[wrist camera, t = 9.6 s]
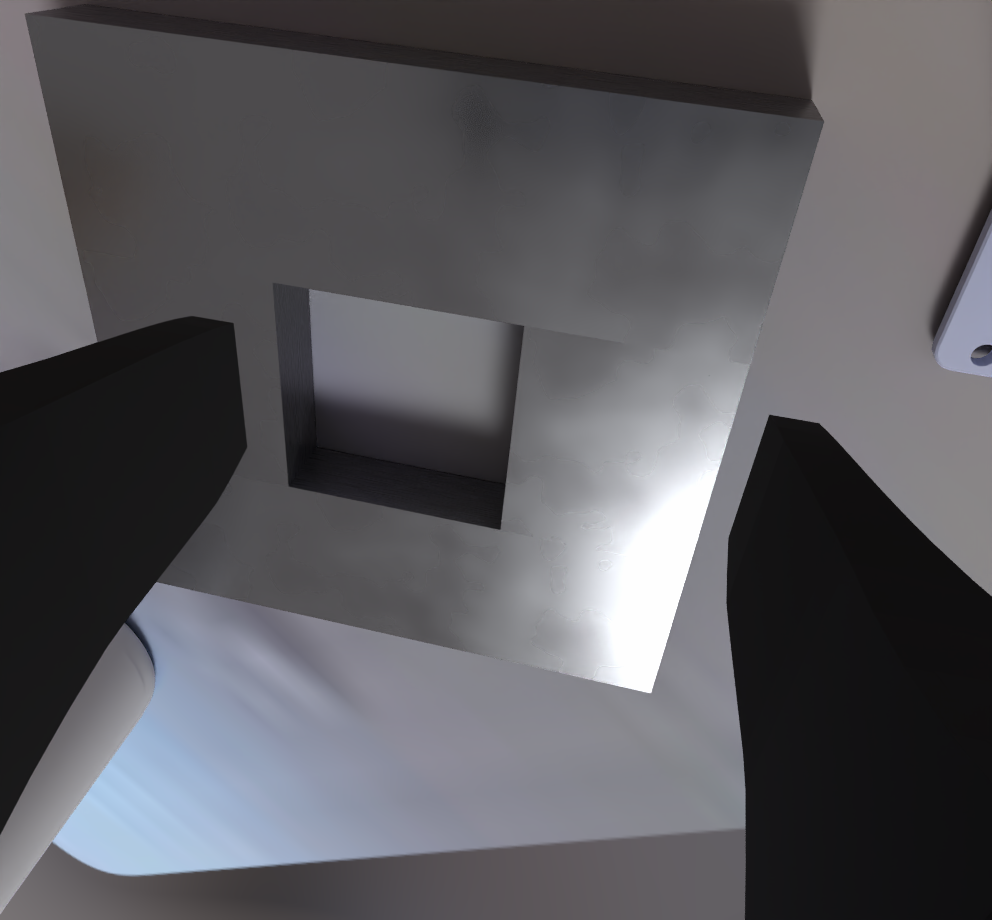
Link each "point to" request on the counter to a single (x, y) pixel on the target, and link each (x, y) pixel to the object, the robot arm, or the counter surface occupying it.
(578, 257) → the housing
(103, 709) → the pill bottle
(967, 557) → the counter surface
